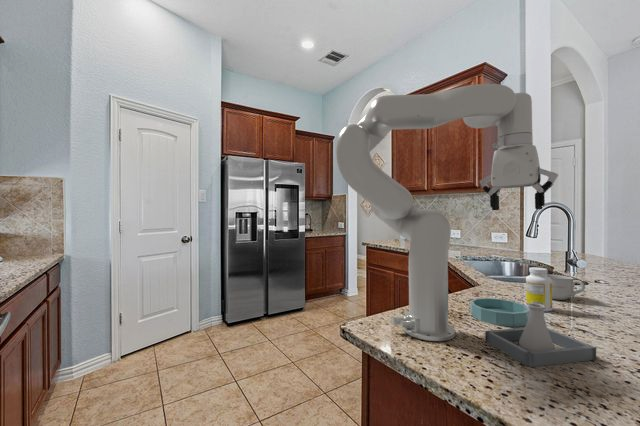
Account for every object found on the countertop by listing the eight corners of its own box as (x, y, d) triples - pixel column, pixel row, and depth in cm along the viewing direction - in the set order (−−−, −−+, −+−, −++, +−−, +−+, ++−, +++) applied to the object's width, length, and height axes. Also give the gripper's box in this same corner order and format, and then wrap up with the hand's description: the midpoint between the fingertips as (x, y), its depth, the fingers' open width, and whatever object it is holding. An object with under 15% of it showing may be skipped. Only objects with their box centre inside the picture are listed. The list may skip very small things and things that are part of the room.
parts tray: (529, 367, 58) (529, 354, 58) (485, 341, 70) (485, 330, 70) (596, 359, 61) (596, 347, 61) (542, 336, 73) (542, 326, 73)
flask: (565, 359, 61) (565, 311, 61) (526, 356, 62) (526, 309, 63) (546, 344, 68) (545, 301, 68) (511, 342, 70) (511, 299, 70)
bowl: (496, 328, 78) (495, 314, 78) (460, 310, 92) (460, 299, 92) (543, 324, 80) (542, 311, 80) (501, 307, 95) (501, 296, 95)
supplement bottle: (541, 305, 97) (540, 266, 97) (558, 312, 90) (557, 270, 90) (521, 305, 97) (520, 266, 97) (536, 312, 90) (536, 270, 90)
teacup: (528, 295, 109) (528, 273, 109) (549, 292, 113) (549, 271, 113) (570, 306, 96) (570, 281, 96) (593, 303, 99) (592, 279, 99)
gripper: (473, 148, 81) (475, 210, 80) (552, 134, 67) (554, 208, 67) (484, 151, 85) (486, 210, 85) (560, 139, 72) (562, 208, 72)
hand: (516, 209), depth 76 cm, fingers open, 9 cm apart
